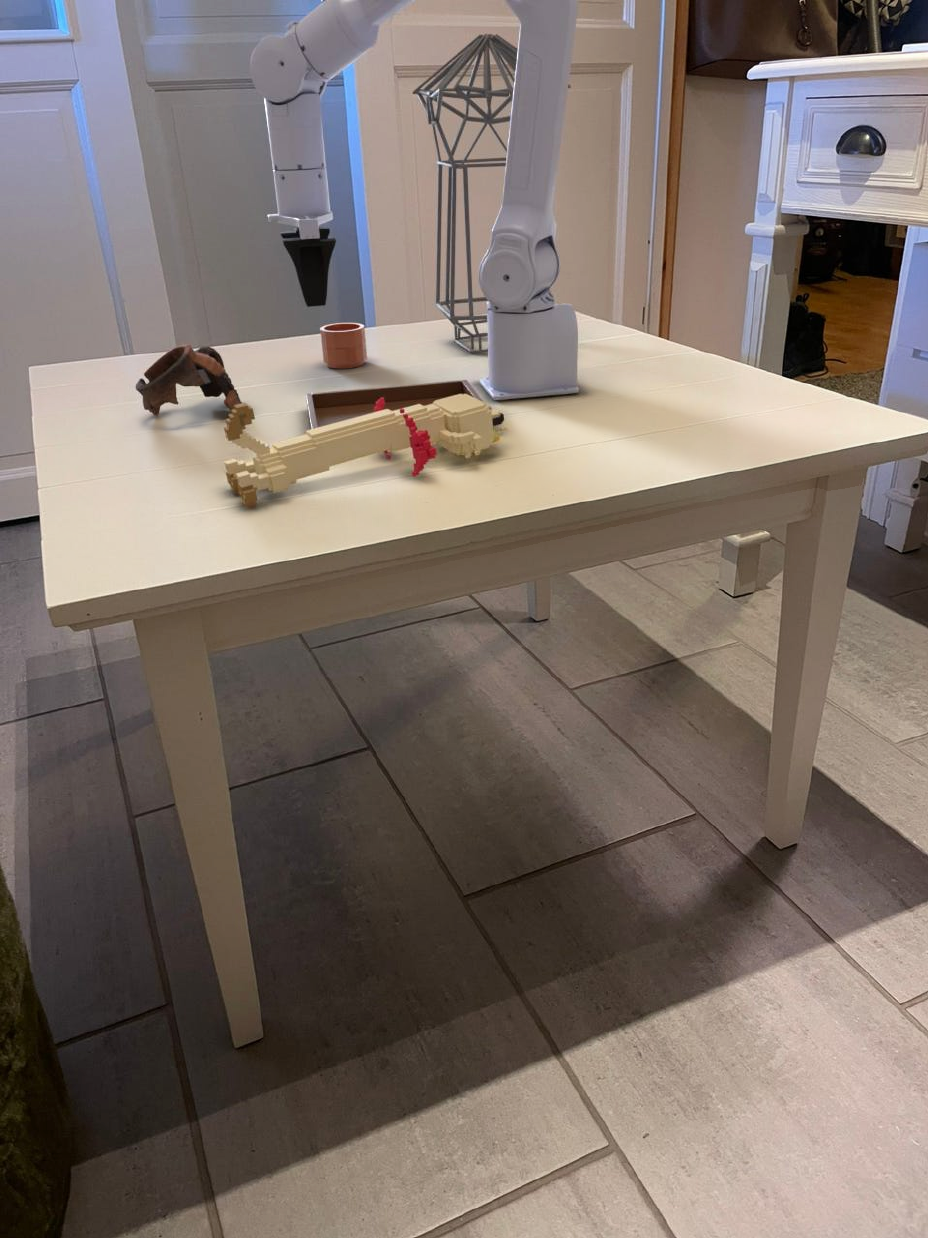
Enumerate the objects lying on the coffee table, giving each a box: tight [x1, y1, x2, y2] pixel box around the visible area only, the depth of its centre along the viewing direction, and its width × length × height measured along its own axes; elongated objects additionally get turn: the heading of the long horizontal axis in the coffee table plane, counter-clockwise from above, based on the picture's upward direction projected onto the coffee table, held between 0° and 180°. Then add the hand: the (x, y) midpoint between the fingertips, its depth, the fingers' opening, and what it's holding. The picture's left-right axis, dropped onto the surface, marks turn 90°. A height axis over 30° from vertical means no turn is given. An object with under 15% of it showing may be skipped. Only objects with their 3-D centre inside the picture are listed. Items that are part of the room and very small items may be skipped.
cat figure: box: [223, 394, 509, 509], centre depth 80 cm, size 10×9×25 cm
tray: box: [305, 379, 485, 430], centre depth 94 cm, size 17×13×2 cm
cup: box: [319, 322, 368, 369], centre depth 116 cm, size 5×6×4 cm
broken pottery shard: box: [135, 343, 243, 417], centre depth 99 cm, size 12×10×8 cm
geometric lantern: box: [412, 33, 572, 354], centre depth 116 cm, size 16×16×35 cm
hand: (314, 299), depth 108 cm, fingers open, 7 cm apart
